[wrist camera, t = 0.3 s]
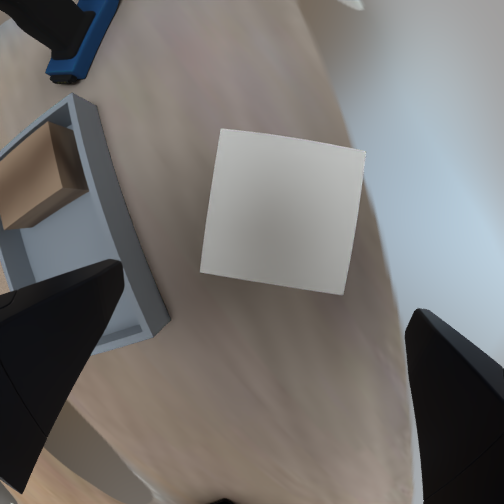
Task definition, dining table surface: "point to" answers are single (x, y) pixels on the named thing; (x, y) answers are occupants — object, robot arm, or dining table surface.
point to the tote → (87, 232)
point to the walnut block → (40, 177)
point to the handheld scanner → (64, 31)
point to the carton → (282, 211)
